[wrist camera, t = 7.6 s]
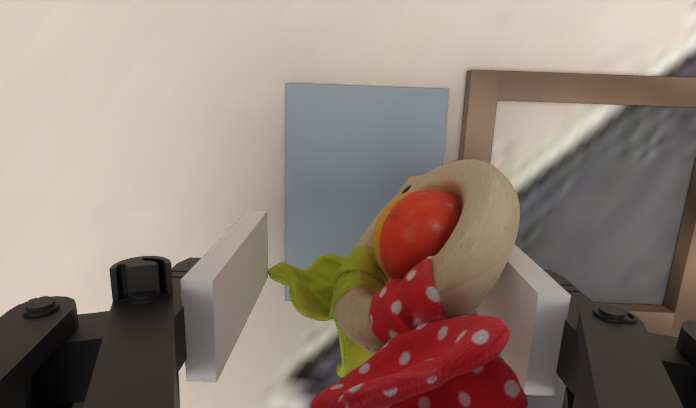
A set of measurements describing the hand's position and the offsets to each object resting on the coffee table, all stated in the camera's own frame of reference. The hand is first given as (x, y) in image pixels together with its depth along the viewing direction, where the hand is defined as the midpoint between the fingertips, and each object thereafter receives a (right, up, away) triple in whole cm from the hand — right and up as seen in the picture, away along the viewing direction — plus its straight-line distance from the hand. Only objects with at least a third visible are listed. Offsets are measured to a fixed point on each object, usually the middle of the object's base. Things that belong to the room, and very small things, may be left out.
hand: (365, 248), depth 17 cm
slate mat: (0, +2, +9) cm, 9 cm away
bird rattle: (+1, 0, +2) cm, 2 cm away
